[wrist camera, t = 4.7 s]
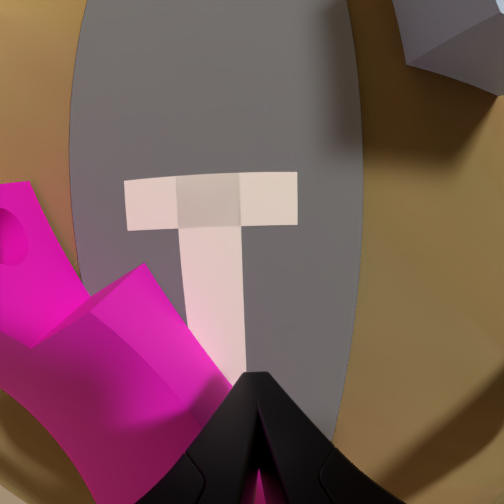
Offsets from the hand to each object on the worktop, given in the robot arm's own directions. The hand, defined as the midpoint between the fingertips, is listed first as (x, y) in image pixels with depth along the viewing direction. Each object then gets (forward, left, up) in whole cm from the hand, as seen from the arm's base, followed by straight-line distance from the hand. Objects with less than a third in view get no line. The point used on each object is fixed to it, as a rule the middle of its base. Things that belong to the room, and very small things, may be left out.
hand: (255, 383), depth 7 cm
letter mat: (+1, -3, -2) cm, 4 cm away
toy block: (+5, +1, -2) cm, 5 cm away
